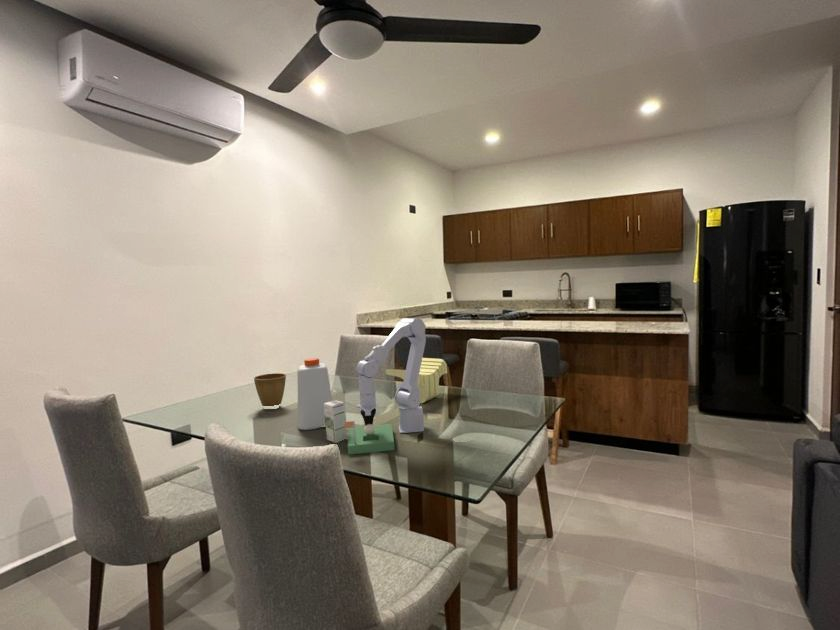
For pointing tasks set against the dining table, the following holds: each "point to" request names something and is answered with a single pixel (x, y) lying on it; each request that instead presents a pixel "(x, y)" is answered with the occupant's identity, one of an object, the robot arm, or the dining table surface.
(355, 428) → the green slotted block
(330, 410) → the syrup box
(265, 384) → the plant pot
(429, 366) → the slatted curved stool
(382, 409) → the dining table surface
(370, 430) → the ball
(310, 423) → the plastic bottle
